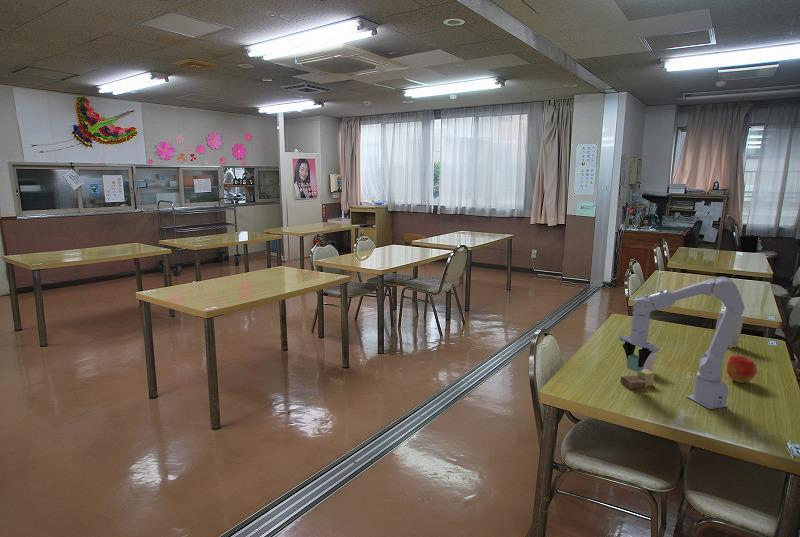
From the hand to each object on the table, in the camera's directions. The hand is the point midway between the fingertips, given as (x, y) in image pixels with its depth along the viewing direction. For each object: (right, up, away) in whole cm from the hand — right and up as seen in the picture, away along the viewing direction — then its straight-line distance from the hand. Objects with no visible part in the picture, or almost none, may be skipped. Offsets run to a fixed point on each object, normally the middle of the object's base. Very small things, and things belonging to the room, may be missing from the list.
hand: (635, 364), depth 174 cm
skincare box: (+67, -1, +47) cm, 82 cm away
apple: (+44, -8, +7) cm, 45 cm away
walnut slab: (0, -9, +2) cm, 9 cm away
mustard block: (+5, -8, +4) cm, 10 cm away
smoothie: (+12, -6, +16) cm, 21 cm away
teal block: (0, -2, 0) cm, 2 cm away
